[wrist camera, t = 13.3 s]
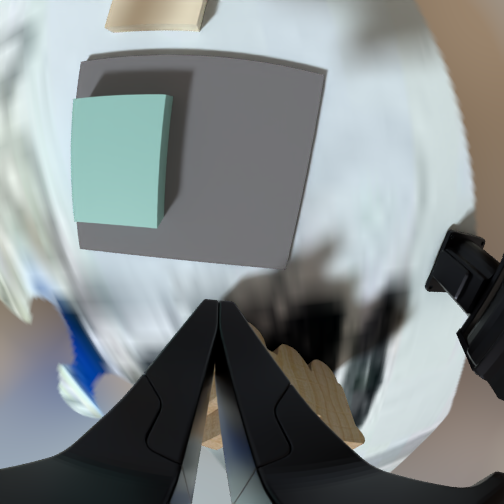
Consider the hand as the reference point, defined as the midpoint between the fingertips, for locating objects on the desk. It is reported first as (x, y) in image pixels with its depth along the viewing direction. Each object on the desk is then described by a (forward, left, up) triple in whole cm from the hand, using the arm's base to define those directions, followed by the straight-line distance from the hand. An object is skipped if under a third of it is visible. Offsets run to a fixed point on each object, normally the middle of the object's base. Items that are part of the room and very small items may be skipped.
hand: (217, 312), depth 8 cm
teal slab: (+4, -2, -10) cm, 11 cm away
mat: (+3, -2, -12) cm, 13 cm away
